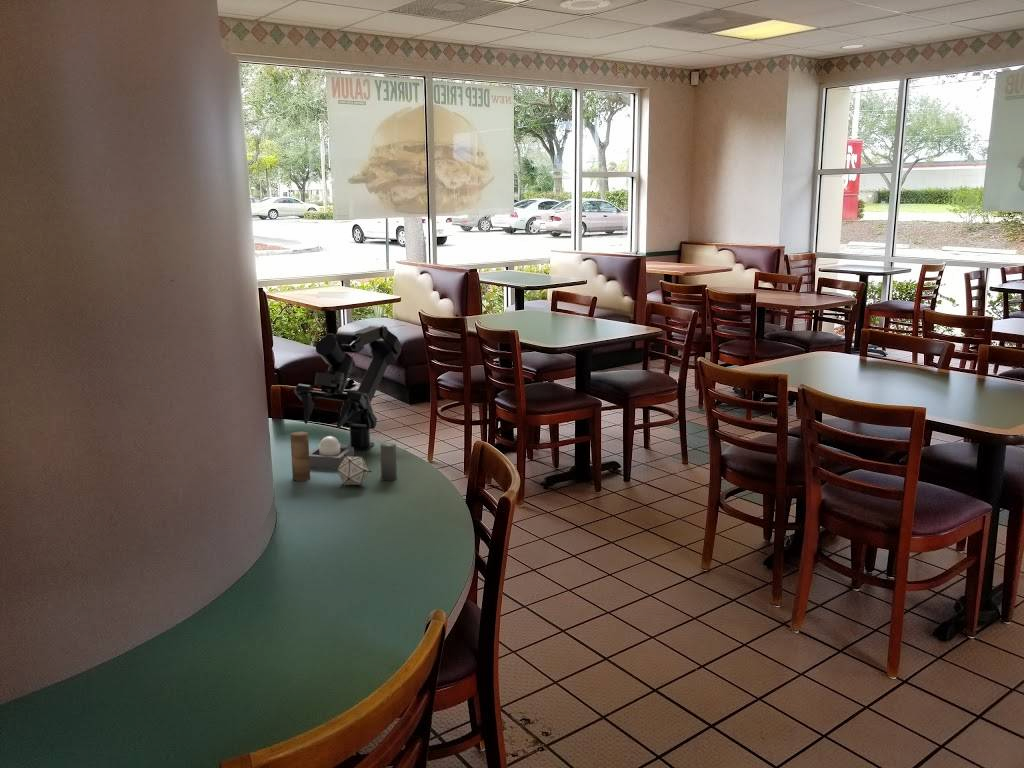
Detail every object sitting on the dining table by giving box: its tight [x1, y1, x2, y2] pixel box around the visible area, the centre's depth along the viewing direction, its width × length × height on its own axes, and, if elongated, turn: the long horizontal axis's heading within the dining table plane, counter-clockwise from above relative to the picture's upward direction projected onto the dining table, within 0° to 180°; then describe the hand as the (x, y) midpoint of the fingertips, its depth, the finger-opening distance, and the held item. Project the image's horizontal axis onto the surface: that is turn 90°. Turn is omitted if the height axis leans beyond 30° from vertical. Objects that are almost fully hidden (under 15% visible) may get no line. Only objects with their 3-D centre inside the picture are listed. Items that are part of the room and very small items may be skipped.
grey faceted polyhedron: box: [333, 453, 373, 488], centre depth 209 cm, size 9×8×10 cm
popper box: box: [309, 445, 355, 470], centre depth 227 cm, size 10×10×3 cm
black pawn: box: [380, 442, 398, 481], centre depth 215 cm, size 4×4×9 cm
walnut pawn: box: [289, 431, 311, 482], centre depth 213 cm, size 4×4×12 cm
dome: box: [318, 435, 341, 456], centre depth 227 cm, size 6×6×6 cm
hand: (321, 425), depth 219 cm, fingers open, 9 cm apart
